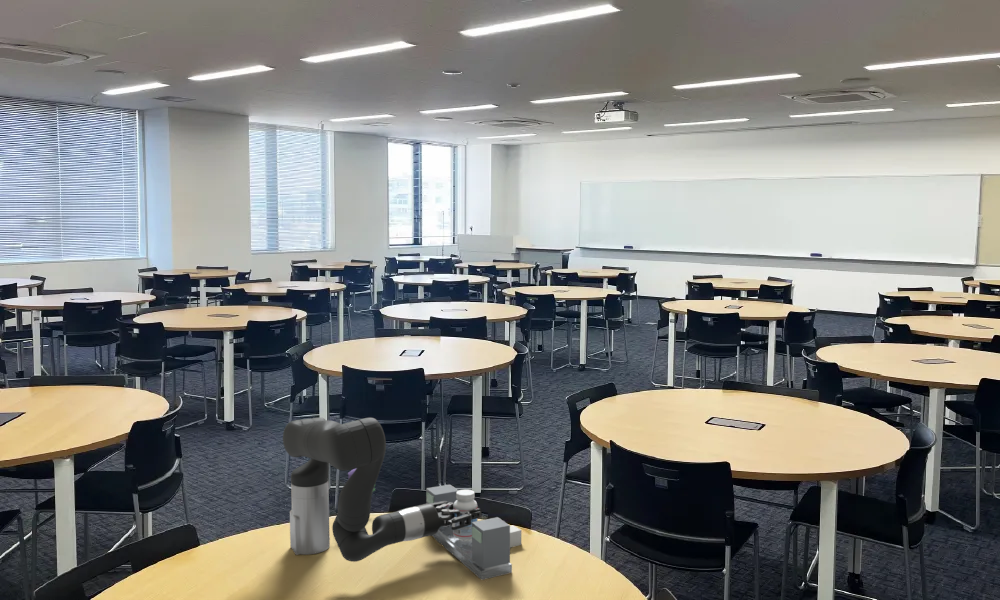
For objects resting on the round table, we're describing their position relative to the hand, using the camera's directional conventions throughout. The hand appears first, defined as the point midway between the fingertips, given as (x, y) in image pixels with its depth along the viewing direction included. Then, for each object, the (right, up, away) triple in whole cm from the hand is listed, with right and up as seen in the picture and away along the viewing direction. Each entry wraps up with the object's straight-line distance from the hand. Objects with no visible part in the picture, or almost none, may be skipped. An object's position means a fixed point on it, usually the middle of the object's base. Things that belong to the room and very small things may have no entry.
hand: (473, 508), depth 188 cm
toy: (-33, -9, +19) cm, 39 cm away
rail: (-2, -10, -1) cm, 10 cm away
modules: (-2, -8, -1) cm, 8 cm away
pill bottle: (-2, -7, -1) cm, 7 cm away
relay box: (+9, -10, +3) cm, 14 cm away
